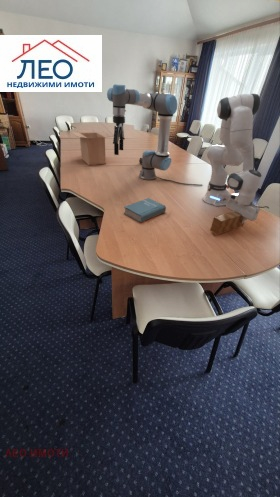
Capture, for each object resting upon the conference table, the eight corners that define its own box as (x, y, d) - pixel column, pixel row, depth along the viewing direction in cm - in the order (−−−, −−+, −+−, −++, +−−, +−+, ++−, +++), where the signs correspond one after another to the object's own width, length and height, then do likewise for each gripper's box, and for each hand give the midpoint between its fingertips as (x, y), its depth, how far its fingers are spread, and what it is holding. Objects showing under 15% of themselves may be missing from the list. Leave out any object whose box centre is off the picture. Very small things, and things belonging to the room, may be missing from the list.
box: (116, 165, 229) (116, 136, 213) (83, 168, 214) (80, 137, 198) (102, 154, 259) (101, 128, 243) (71, 156, 244) (68, 129, 228)
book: (148, 204, 158) (148, 197, 155) (165, 212, 149) (166, 206, 146) (124, 213, 145) (124, 206, 142) (141, 223, 136) (141, 216, 133)
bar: (216, 234, 128) (221, 221, 123) (209, 230, 132) (214, 216, 126) (242, 226, 138) (247, 213, 133) (235, 222, 142) (240, 209, 137)
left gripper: (120, 118, 125) (120, 157, 138) (129, 114, 145) (128, 148, 158) (107, 117, 126) (108, 156, 139) (118, 113, 146) (117, 147, 158)
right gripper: (264, 205, 123) (255, 227, 131) (235, 192, 136) (228, 212, 145) (257, 207, 120) (248, 229, 128) (228, 193, 134) (221, 214, 142)
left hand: (118, 152), depth 148 cm, fingers open, 13 cm apart
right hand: (237, 220), depth 136 cm, fingers closed on bar, 5 cm apart
